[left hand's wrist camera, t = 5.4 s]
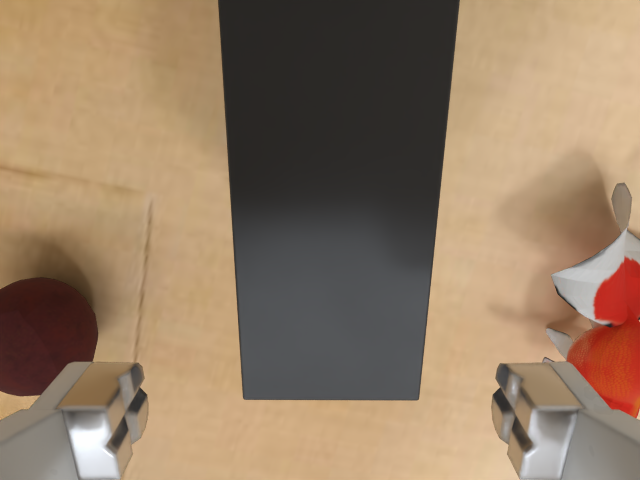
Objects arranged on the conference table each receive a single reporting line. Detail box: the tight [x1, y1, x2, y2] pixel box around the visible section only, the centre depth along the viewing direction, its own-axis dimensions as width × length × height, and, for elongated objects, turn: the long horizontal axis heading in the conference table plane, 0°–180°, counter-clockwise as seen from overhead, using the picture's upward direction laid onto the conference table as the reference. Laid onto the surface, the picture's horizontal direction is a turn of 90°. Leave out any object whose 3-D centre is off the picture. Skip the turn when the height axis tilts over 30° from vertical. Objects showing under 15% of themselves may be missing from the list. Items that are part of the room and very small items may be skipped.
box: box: [218, 0, 460, 400], centre depth 15 cm, size 23×6×9 cm, turn 0°
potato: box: [0, 277, 98, 396], centre depth 30 cm, size 7×8×7 cm
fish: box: [542, 183, 640, 418], centre depth 29 cm, size 11×16×10 cm
